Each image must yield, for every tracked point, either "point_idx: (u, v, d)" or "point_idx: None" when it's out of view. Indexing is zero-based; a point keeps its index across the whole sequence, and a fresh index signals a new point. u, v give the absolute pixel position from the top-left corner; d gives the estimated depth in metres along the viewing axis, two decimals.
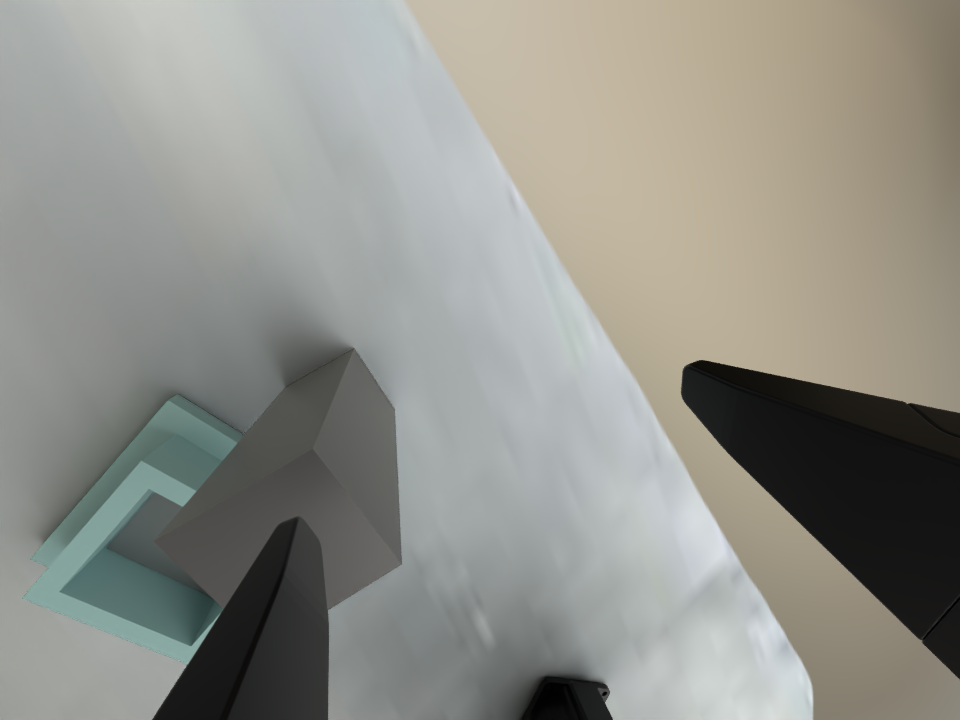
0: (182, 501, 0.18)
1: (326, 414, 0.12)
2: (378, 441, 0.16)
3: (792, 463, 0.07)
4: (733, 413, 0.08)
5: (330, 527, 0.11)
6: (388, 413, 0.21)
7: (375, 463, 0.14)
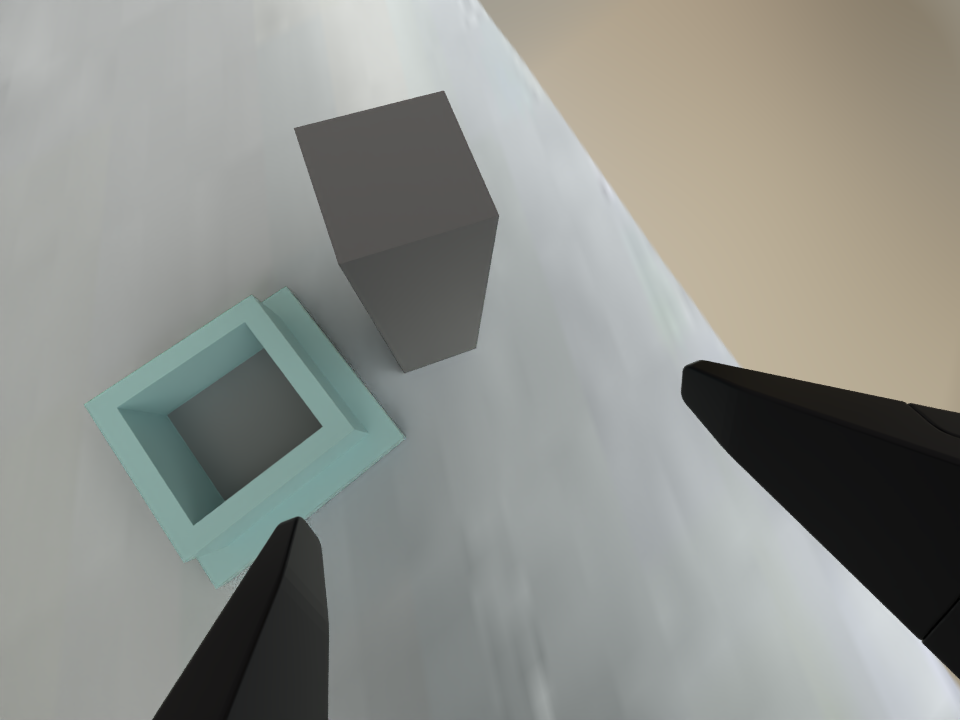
0: (265, 342, 0.18)
1: None
2: None
3: (792, 463, 0.07)
4: (733, 413, 0.08)
5: (439, 159, 0.11)
6: None
7: None
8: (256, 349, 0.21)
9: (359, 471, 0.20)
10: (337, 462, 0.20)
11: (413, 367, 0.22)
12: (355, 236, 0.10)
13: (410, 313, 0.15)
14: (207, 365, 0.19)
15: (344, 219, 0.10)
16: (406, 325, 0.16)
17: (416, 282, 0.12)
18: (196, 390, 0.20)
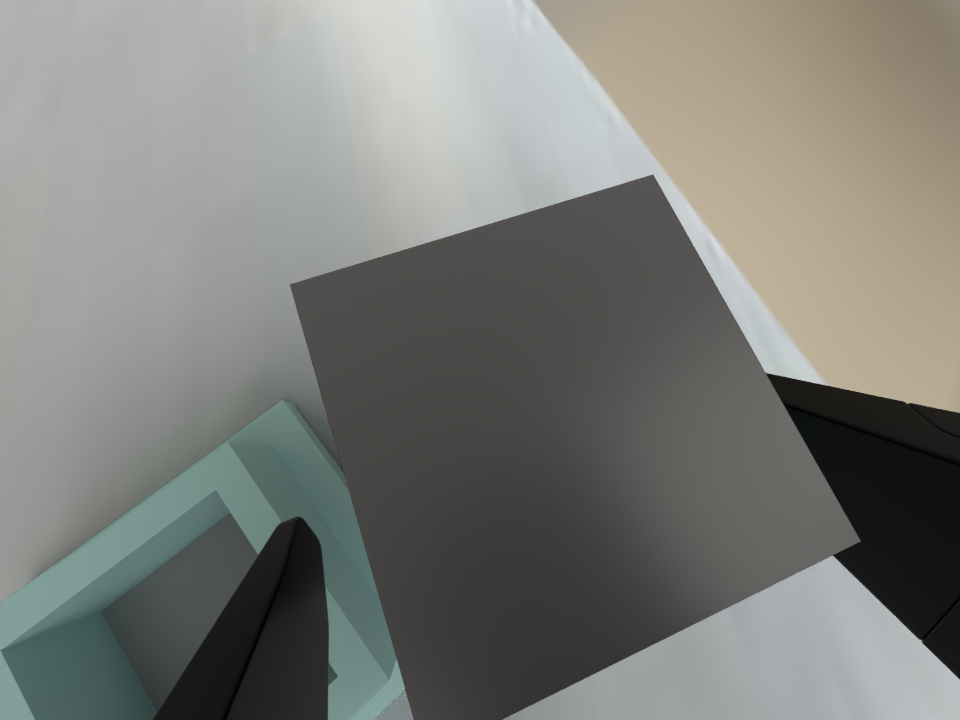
0: (248, 524, 0.12)
1: None
2: None
3: None
4: None
5: (671, 364, 0.04)
6: None
7: None
8: None
9: (390, 699, 0.13)
10: None
11: None
12: (469, 640, 0.03)
13: None
14: (159, 547, 0.13)
15: (435, 580, 0.03)
16: None
17: None
18: (146, 571, 0.14)
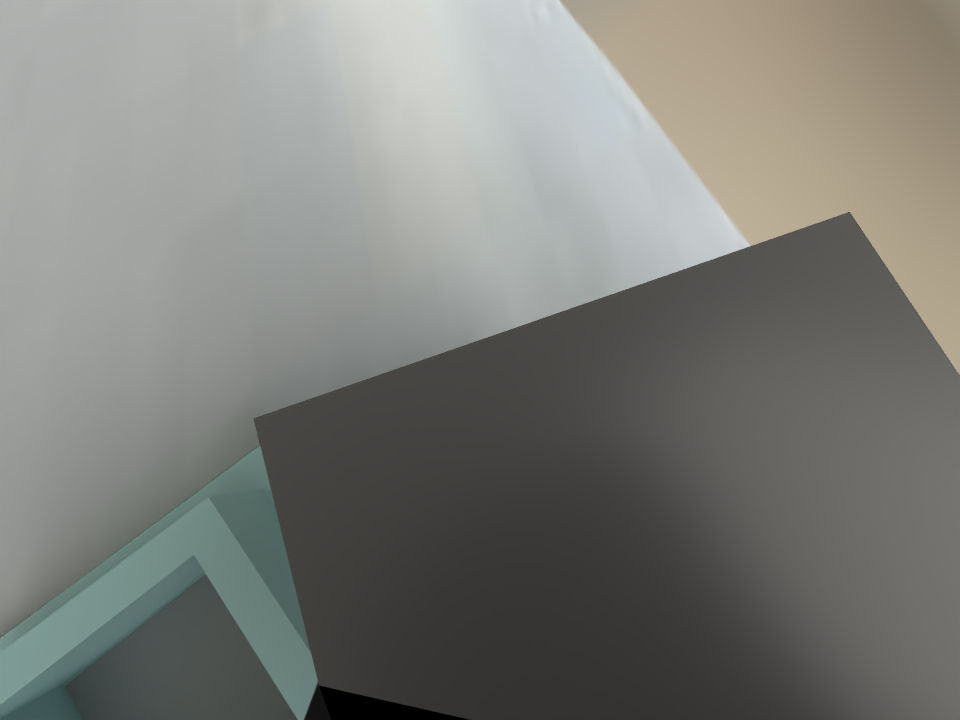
0: (231, 596, 0.10)
1: None
2: None
3: None
4: None
5: (931, 561, 0.02)
6: None
7: None
8: None
9: None
10: None
11: None
12: None
13: None
14: (129, 617, 0.11)
15: None
16: None
17: None
18: (117, 638, 0.12)
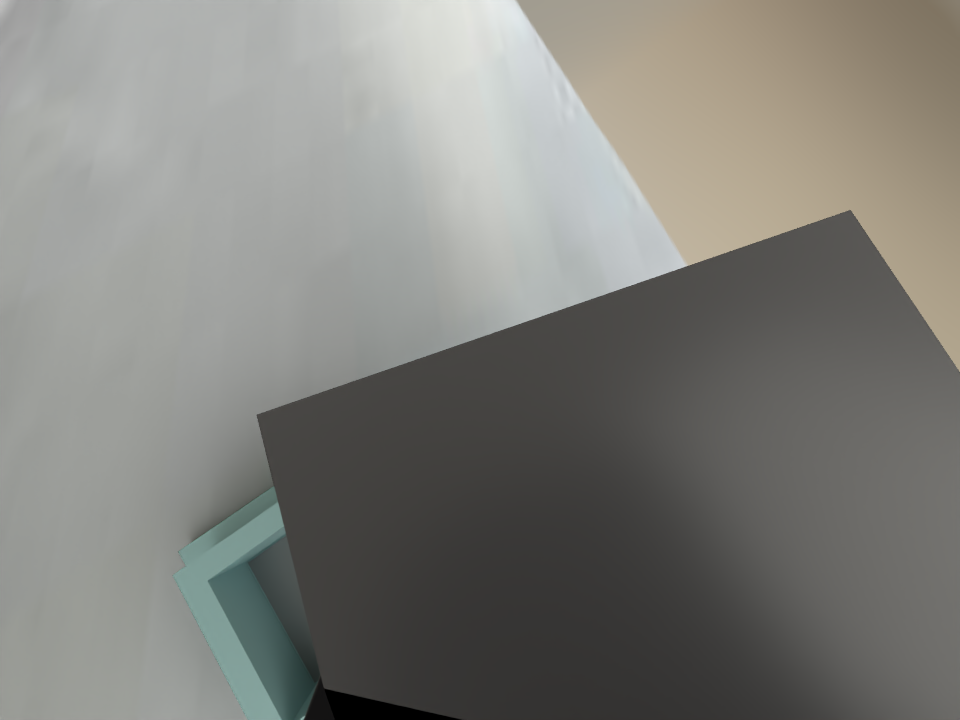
0: None
1: None
2: None
3: None
4: None
5: (932, 557, 0.02)
6: None
7: None
8: None
9: None
10: None
11: None
12: None
13: None
14: None
15: None
16: None
17: None
18: (279, 536, 0.19)
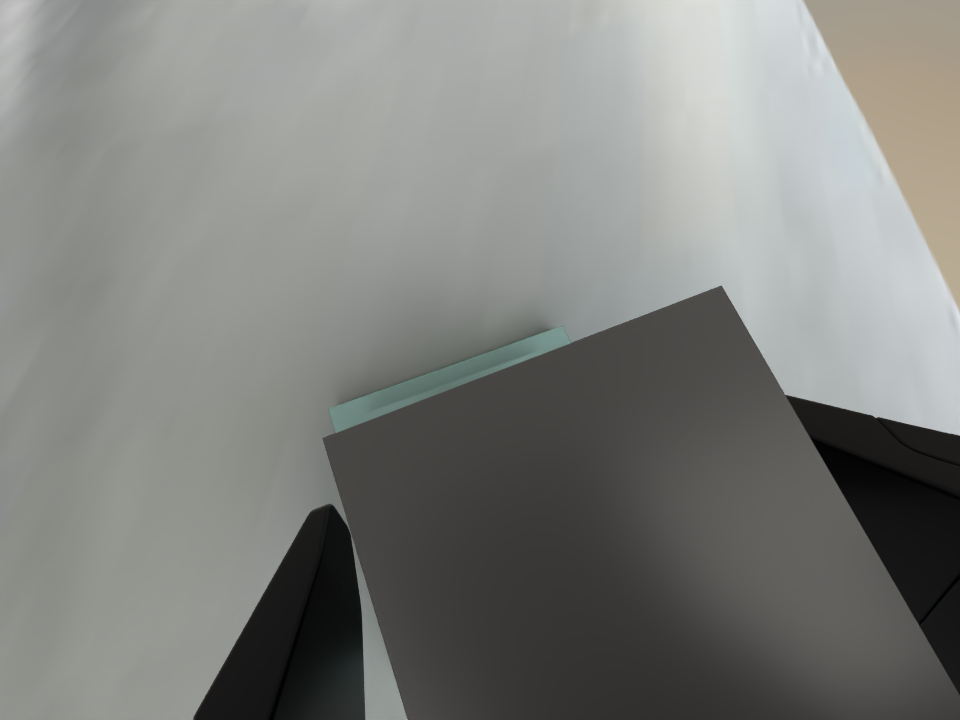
0: None
1: None
2: None
3: None
4: None
5: (758, 521, 0.04)
6: None
7: None
8: None
9: None
10: None
11: None
12: None
13: None
14: None
15: None
16: None
17: None
18: None
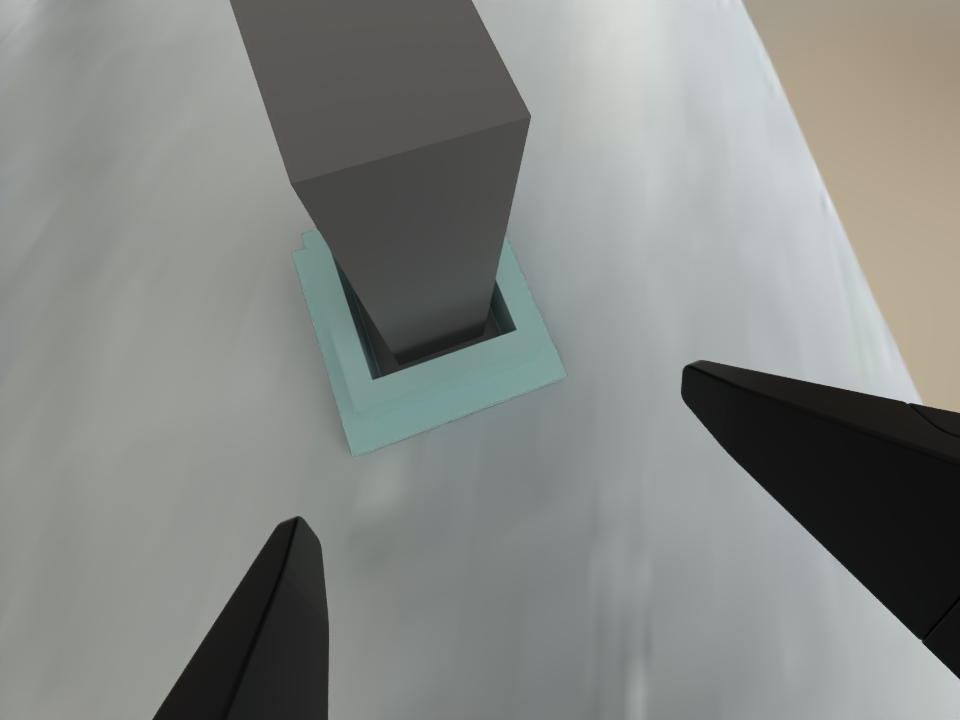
0: None
1: None
2: None
3: (792, 463, 0.07)
4: (733, 413, 0.08)
5: (441, 39, 0.07)
6: None
7: None
8: None
9: (515, 393, 0.19)
10: (496, 377, 0.19)
11: (410, 358, 0.19)
12: (316, 144, 0.07)
13: (404, 282, 0.11)
14: None
15: (301, 120, 0.07)
16: (399, 299, 0.12)
17: (411, 230, 0.09)
18: None
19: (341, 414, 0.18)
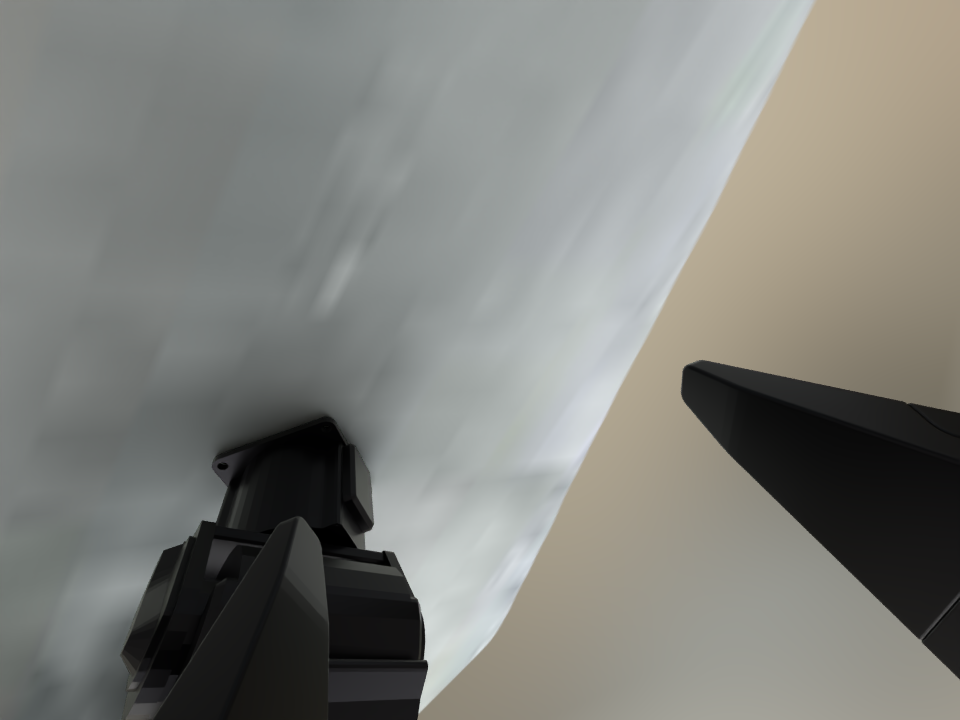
0: None
1: None
2: None
3: (792, 463, 0.07)
4: (733, 413, 0.08)
5: None
6: None
7: None
8: None
9: None
10: None
11: None
12: None
13: None
14: None
15: None
16: None
17: None
18: None
19: None
